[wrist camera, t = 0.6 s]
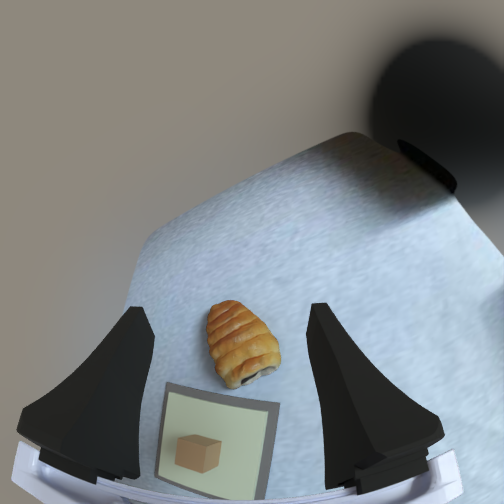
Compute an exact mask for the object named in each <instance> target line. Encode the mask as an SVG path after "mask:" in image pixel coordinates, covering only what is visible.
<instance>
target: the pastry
mask: <svg viewBox="0 0 504 504" xmlns="http://www.w3.org/2000/svg"><path fill="white" fill-rule="evenodd" d="M207 320H208V324H207V326H206V331H207V334H208V339H207V342H208V345H209V347H210V350H209V353H210V356H211V357H212V358H213V359H214V362H215V364H216V365H215V370H216V372H217V374H218V375H220V376H221V377H222V378H223V379H224V381H225V382H226V386H227V387H228V388H230V389H237V388H239V387H240V386H242V385H248V384H250V383H253V382H254V381H255V380H257V379H258V378H260V377H261V376H262V375H269V374H271V373H272V372H274V371H276V370H277V369H278V367H279V366H280V364H281V355H280V351H279V343H278V341H277V339H276V338H275V337H274V336H273V335H272V333H271V332H270V330H269V329H268V327H267V326H266V324H265V323H264V322H263V321H261V320H260V319H259V317H257V316H256V315H254V314H253V313H252V312H251V311H250V310H249V309H247V308H246V307H245V306H244V305H242V304H241V303H240V302H238V301H234V300H227V301H224V302H221V303H219V304H215V305H213V306H212V307H211V309H210V313H209V314H208V318H207Z"/></svg>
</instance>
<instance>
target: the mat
mask: <svg viewBox="0 0 504 504" xmlns="http://www.w3.org/2000/svg"><path fill="white" fill-rule="evenodd" d="M169 392H174V393H178V394H182V395H185V396H189V397H193V398H198V399H202V400H206V401H211V402H216V403H221V404H226V405H231V406H237V407H242V408H249V409H255V410H262V411H268V417H267V424H266V431H265V438H264V444H263V450H262V456H261V463H260V469H259V474H258V480H257V486H256V491H255V497H254V500H264V498H265V493H266V488H267V483H268V477H269V471H270V466H271V460H272V454H273V448H274V441H275V435H276V428H277V422H278V415H279V407H280V403H277V402H268V401H260V400H252V399H246V398H239V397H233V396H228V395H222V394H217V393H212V392H207V391H202V390H198V389H193V388H189V387H185V386H181V385H177V384H173V383H169V382H167V386H166V392H165V398H164V405H163V411H162V418H161V426H160V433H159V441H158V450H157V459H156V469H155V477H156V478H158V479H160V480H162V481H165V482H167V483H169V484H172V485H174V486H177V487H180V488H182V489H185V490H188V491H190V492H193V493H196V494H199V495H202V496H205V497H208V498H212V499H219V500H229V499H225V498H222V497H218V496H215V495H211V494H208V493H205V492H202V491H199V490H196V489H193V488H190V487H187V486H184V485H182V484H179V483H176V482H174V481H171V480H169V479H167V478H164V477H162V476H160V475H158V472H159V463H160V454H161V445H162V437H163V429H164V422H165V415H166V408H167V401H168V395H169Z"/></svg>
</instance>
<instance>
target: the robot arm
mask: <svg viewBox="0 0 504 504" xmlns="http://www.w3.org/2000/svg"><path fill="white" fill-rule="evenodd" d="M306 338H307V346H308V354H309V359H310V363H311V367H312V371H313V375H314V379H315V384H316V388H317V392H318V396H319V401H320V407H321V416H322V426H323V438H324V456H325V488H326V490H328V489H333V488H338V487H343V486H344V488H345V489H342V490H337V491H332V492H327V493H321V494H315V495H308V496H301V497H292V498H282V499H267V500H219V499H204V498H194V497H185V496H178V495H171V494H165V493H159V492H154V491H149V490H145V489H140V488H136V487H132V486H128V485H124V484H121V483H117V482H114V480H115V478H117V479H120V480H122V477H126V478H130V479H134V480H135V479H137V478H139V477H140V466H139V421H140V410H141V402H142V397H143V392H144V388H145V384H146V380H147V376H148V372H149V368H150V364H151V360H152V355H153V348H154V340H155V335H154V333H153V331H152V328H151V326H150V324H149V321H148V319H147V317H146V314H145V312H144V309H143V307H132V306H130V307H129V309H128V310H127V311H126V312H125V313H124V315H123V316H122V317H121V318H120V320H119V321H118V322H117V323H116V325H115V326H114V327H113V328H112V330H111V331H110V332H109V333H108V334H107V336H106V337H105V338H104V339H103V341H102V342H101V343H100V344H99V345H98V347H97V348H96V349H95V350H94V351H93V352H92V353H91V355H90V356H89V357H88V358H87V359H86V360H85V361H84V362H83V363H82V364H81V365H80V366H79V367H78V368H77V369H76V370H75V371H74V372H73V373H72V374H71V375H70V376H69V377H67V378H66V379H65V380H64V381H63V382H62V383H60V384H59V385H58V386H57V387H55V388H54V389H53V390H51V391H50V392H49V393H47V394H46V395H44V396H43V397H41V398H40V399H38V400H37V401H35V402H33V403H32V404H30V405H28V406H26V407H25V408H23V410H22V413H21V416H20V420H19V423H18V426H17V432H18V433H19V434H21V435H22V436H23V437H25V438H27V439H28V440H30V441H32V442H33V443H35V444H36V445H38V446H40V447H41V450H40V451H38V450H36V449H35V448H33V447H31V446H29V445H27V444H25V443H24V442H22V441H19V445H18V449H17V453H16V457H15V462H14V467H13V472H12V478H11V480H12V481H13V482H14V483H16V484H17V485H19V486H20V487H22V488H23V489H24V490H26V491H27V492H29V493H30V494H32V495H33V496H35V497H36V498H37V499H39V500H40V501H41V502H43V503H44V504H132V503H130V502H129V500H128V499H132V500H136V501H140V502H144V503H149V504H447V503H448V502H450V501H452V500H453V499H455V498H457V497H458V496H460V495H462V494H463V493H464V489H463V484H462V479H461V475H460V471H459V466H458V462H457V459H456V455H455V451H454V449H451V450H449V451H447V452H445V453H443V454H441V455H439V456H436V457H434V458H432V459H430V460H428V461H427V460H426V456H427V455H428V454H429V453H428V449H427V448H428V447H430V446H431V445H433V444H435V443H436V442H438V441H440V440H441V439H442V438H444V436H445V434H444V430H443V427H442V424H441V421H440V419H439V417H438V416H437V415H435V414H434V413H432V412H430V411H429V410H427V409H425V408H424V407H422V406H421V405H419V404H418V403H416V402H415V401H414V400H412V399H411V398H409V397H408V396H407V395H406V394H405V393H403V392H402V391H401V390H400V389H398V388H397V387H396V386H395V385H394V384H392V383H391V382H390V381H389V380H388V379H387V378H386V377H385V376H384V375H383V374H382V373H381V372H380V371H379V370H378V369H377V368H376V367H375V366H374V365H373V364H372V363H371V362H370V360H369V359H368V358H367V357H366V356H365V355H364V354H363V352H362V351H361V350H360V349H359V347H358V346H357V345H356V344H355V342H354V341H353V340H352V338H351V337H350V336H349V335H348V333H347V332H346V331H345V329H344V328H343V326H342V325H341V323H340V322H339V321H338V319H337V318H336V316H335V315H334V313H333V312H332V310H331V309H330V307H329V306H328V304H327V303H313V304H312V305H311V311H310V316H309V321H308V327H307V332H306ZM127 498H128V499H127Z"/></svg>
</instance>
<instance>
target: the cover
mask: <svg viewBox="0 0 504 504" xmlns="http://www.w3.org/2000/svg"><path fill="white" fill-rule="evenodd" d="M267 417H268V411H262V410H255V409H249V408H242V407H237V406H231V405H226V404H221V403H216V402H211V401H206V400H202V399H198V398H193V397H189V396H185V395H182V394H178V393H174V392H169V395H168V401H167V408H166V415H165V422H164V429H163V437H162V445H161V454H160V463H159V472H158V475H160V476H162V477H164V478H167V479H169V480H171V481H174V482H176V483H179V484H182V485H184V486H187V487H190V488H193V489H196V490H199V491H202V492H205V493H208V494H211V495H215V496H218V497H222V498H225V499H229V500H254V497H255V491H256V486H257V480H258V474H259V469H260V463H261V456H262V450H263V444H264V438H265V431H266V424H267Z"/></svg>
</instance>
